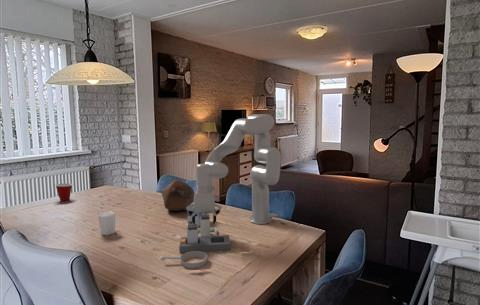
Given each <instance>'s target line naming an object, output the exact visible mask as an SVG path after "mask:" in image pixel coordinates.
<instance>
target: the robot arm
mask: <svg viewBox="0 0 480 305" xmlns="http://www.w3.org/2000/svg"><path fill="white" fill-rule="evenodd" d="M274 124H275V120H274V118H273V116H272V115H270V114H267V113H264V114H263V113H262V114H260V113H258V114H257V113H256V114H255V113H254V114H253V113H252V114H249V115H248V116H247V117H246V118H238V119H235V120H234V122H233V123H232V124H231V126H230V127H229V128H230V129H229V130H228V132H227V134H226V135H225V137H224V139H223V141H222V142H221V143H219V144H218V145H217V146H216V147H214V149H213V150H211V151H210V153H209V154H208V156H207V158H206V160H205V162H204V163H198V164H197V165H196V166H195V175H196V176H195V188H196V189H195V191H194V193H195V194H194V203H193V204H191V205H189V206H187V207H186V211H188V212H187V214H188V213H189V214H190V215H191V216H192V222H193V224H195V214H196V213H205V214H206V213H211V214H212V225H216V223H217V216H218V214H220V212H221V210H222V208H223V207H222V205H220V204H218V203H216V202H215V194H214V190H216V189H215V188H216V187H215V186H213V180H212V179H223V178H225V177H226V176H227V175H228V173H229V168H228V165H226V164H225V163H222V162H221V160H222V159H224V158H225V157H226V156H227V155H230V154H233V153H234V152H236V151H238V149H240V148H239V147H240V146H241V144H242V142H243V141H244V138H245V137H246V136H254V151H253V153H254V154H253V158H254V161H256V162H257V163H260V164H258V165H257V164H256V165H254V166H253V167H252V168H251V169H250V174H249V175H250V176H249V177H250V181H251V216H250V217H249V220H248V221H250V222H251V223H252V224H257V225H265V224H269V223H271V222H272V221H273V220H272V218H278V213H274V212H272V213H270V188H269V185H270V186H274V185H276V184H277V183H278V182H279V180H280V176H281V175H280V174H281V164H282V162H281V161H282V156H281V155H282V154H281V151H280V150H279V149H278V148H277V147H274V146H271V135H270V132H269V131H270V130H271V129H273V127H274ZM262 164H265V165H262ZM192 207H194V211H193V212H192V211H191V210H190V208H192ZM215 208H217V210H215Z"/></svg>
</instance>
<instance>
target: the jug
mask: <svg viewBox="0 0 480 305" xmlns="http://www.w3.org/2000/svg"><path fill="white" fill-rule="evenodd" d="M194 194H195V191H194V189H193V187H192V186H191V185H189V183H188V182H185V181H184V180H181V179H174V180H173V181H172V182H170V184H168V185H166V186H165V187H163V188H162V190H161V195H162V198H163V205H164V207H165V209H167V210H168V211H174V212H181V211H187V209H186V207H187V206H189V205H191V204H192V203H193V202H194Z"/></svg>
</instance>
